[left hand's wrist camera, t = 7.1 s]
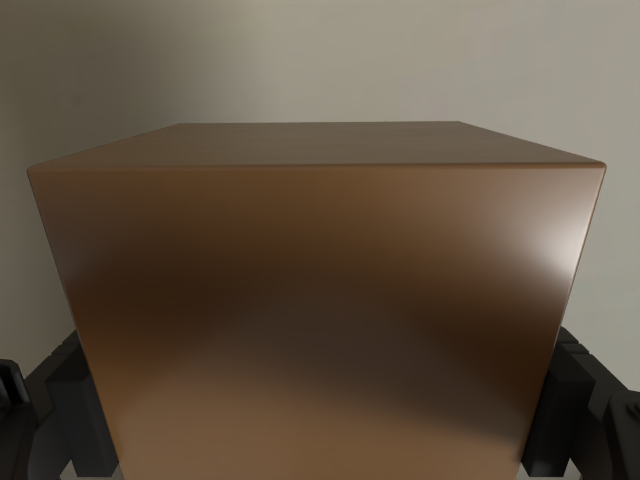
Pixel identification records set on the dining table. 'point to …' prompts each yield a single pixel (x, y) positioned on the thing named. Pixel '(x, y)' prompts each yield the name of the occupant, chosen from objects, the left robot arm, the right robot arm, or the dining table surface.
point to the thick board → (318, 294)
